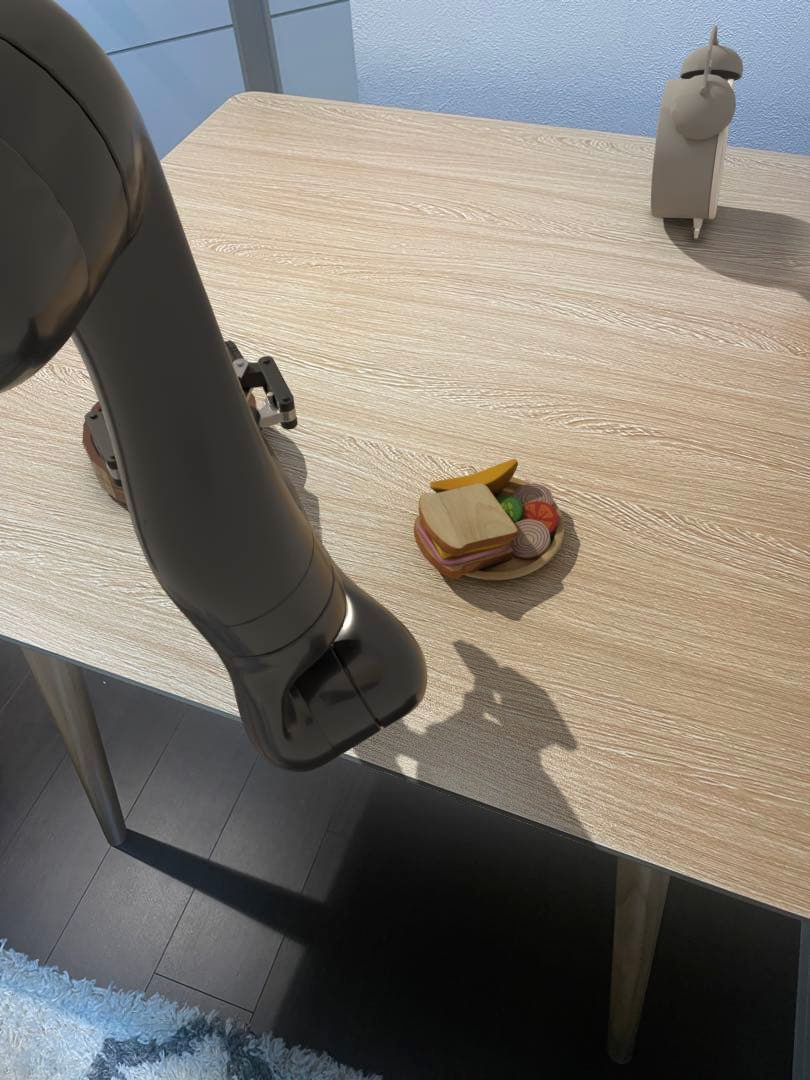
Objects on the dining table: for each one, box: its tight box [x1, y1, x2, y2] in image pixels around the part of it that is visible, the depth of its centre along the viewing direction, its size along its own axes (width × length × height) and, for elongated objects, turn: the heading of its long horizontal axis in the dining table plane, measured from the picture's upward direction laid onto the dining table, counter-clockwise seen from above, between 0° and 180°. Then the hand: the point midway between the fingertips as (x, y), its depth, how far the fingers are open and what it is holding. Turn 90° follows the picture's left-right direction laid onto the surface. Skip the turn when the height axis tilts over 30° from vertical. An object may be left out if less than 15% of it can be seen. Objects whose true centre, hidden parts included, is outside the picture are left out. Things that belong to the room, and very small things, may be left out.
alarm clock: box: [650, 25, 744, 239], centre depth 108 cm, size 16×9×22 cm, turn 162°
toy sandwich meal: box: [413, 458, 565, 581], centre depth 80 cm, size 12×14×5 cm
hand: (165, 362), depth 70 cm, fingers open, 8 cm apart
